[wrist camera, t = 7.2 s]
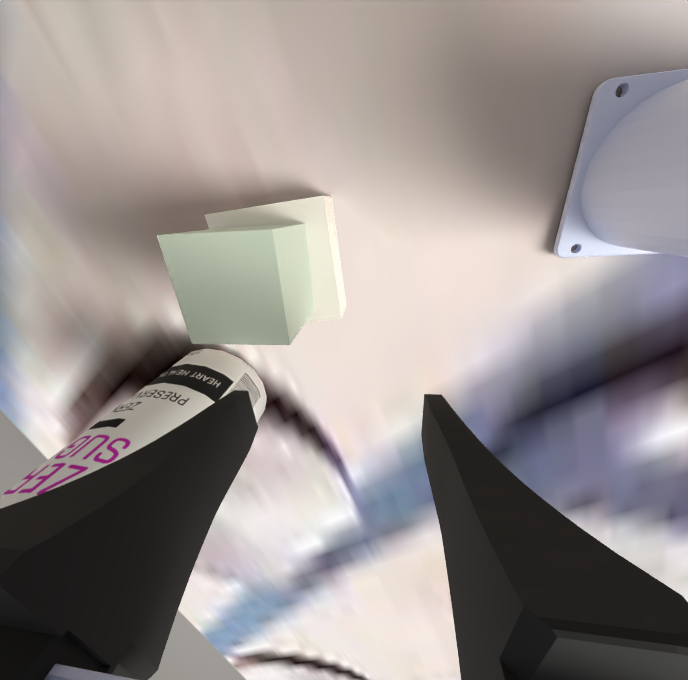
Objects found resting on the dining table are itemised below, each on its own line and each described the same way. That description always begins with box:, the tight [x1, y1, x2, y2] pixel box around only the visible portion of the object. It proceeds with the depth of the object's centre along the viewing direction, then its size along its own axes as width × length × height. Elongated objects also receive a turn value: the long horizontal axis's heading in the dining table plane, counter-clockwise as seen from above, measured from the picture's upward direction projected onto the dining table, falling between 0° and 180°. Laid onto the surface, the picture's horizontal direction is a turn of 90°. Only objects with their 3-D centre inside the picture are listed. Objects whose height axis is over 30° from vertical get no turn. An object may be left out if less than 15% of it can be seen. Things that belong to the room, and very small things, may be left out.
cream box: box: [204, 195, 346, 322], centre depth 18 cm, size 7×7×3 cm
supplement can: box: [0, 349, 267, 509], centre depth 17 cm, size 8×8×15 cm
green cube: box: [157, 223, 314, 345], centre depth 14 cm, size 5×5×5 cm
